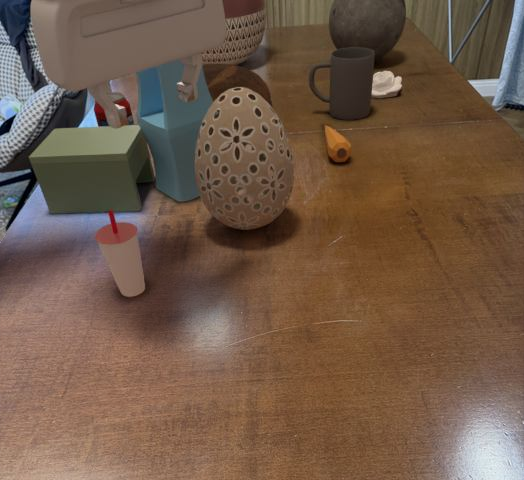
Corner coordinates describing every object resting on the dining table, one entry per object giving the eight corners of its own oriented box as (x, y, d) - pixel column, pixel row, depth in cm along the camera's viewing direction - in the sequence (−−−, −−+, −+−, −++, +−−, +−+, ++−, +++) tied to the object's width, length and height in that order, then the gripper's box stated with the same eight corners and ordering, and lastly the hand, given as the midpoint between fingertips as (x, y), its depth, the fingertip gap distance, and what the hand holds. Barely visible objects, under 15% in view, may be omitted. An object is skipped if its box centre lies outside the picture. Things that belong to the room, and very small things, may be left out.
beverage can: (118, 170, 98) (100, 106, 90) (102, 160, 102) (84, 97, 94) (148, 159, 101) (134, 96, 93) (132, 150, 105) (117, 88, 97)
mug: (369, 105, 115) (373, 45, 107) (371, 120, 109) (376, 58, 101) (309, 107, 117) (309, 48, 109) (308, 121, 111) (308, 60, 102)
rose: (414, 70, 118) (388, 80, 113) (411, 90, 121) (385, 101, 116) (380, 63, 123) (354, 72, 119) (378, 82, 126) (352, 93, 122)
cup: (135, 273, 72) (113, 196, 64) (160, 286, 70) (140, 207, 62) (105, 292, 70) (78, 213, 61) (130, 306, 67) (105, 226, 59)
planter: (238, 82, 134) (227, -46, 115) (159, 73, 144) (137, -46, 126) (285, 55, 150) (282, -62, 131) (211, 48, 160) (199, -60, 142)
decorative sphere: (353, 48, 150) (358, -35, 137) (414, 57, 140) (425, -33, 126) (313, 66, 140) (314, -23, 126) (375, 76, 130) (383, -18, 116)
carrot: (347, 168, 94) (358, 144, 92) (325, 161, 93) (335, 137, 90) (330, 138, 110) (338, 117, 107) (311, 131, 109) (319, 110, 106)
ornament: (197, 249, 76) (173, 111, 62) (210, 202, 87) (191, 75, 73) (294, 247, 75) (291, 106, 61) (295, 199, 85) (293, 70, 71)
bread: (130, 128, 114) (120, 86, 108) (179, 89, 133) (173, 51, 126) (249, 135, 107) (246, 91, 101) (283, 92, 125) (282, 53, 119)
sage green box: (50, 213, 87) (28, 157, 80) (72, 182, 96) (54, 128, 89) (140, 211, 86) (126, 153, 79) (155, 179, 94) (143, 124, 88)
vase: (152, 186, 92) (116, 28, 75) (196, 168, 97) (171, 15, 79) (181, 204, 87) (150, 37, 69) (226, 184, 91) (208, 23, 74)
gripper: (190, -64, 52) (207, 82, 61) (2, -35, 42) (57, 134, 51) (232, -63, 48) (243, 91, 58) (38, -30, 38) (90, 150, 48)
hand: (155, 112), depth 55 cm, fingers open, 8 cm apart
